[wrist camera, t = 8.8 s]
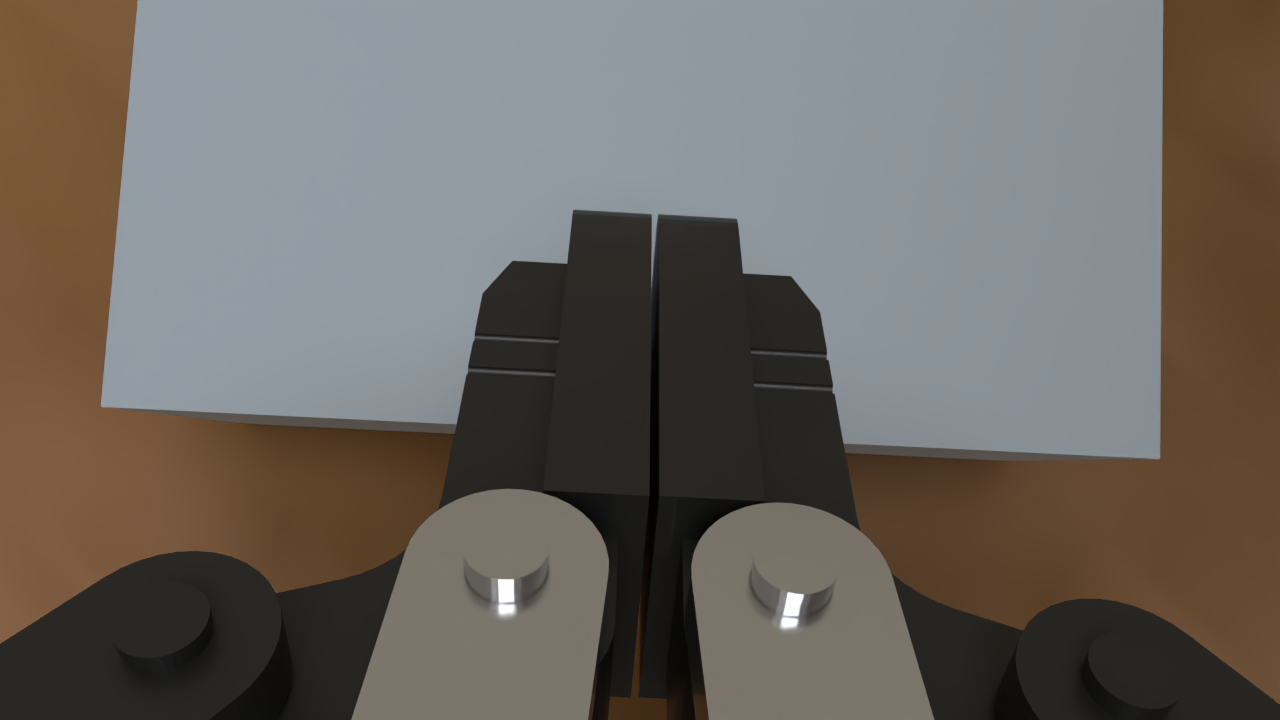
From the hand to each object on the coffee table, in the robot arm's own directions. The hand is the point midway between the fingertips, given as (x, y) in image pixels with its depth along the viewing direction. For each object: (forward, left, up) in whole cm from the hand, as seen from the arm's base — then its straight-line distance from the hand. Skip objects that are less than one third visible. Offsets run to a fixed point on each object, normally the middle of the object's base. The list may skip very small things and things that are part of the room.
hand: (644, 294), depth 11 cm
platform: (-4, -4, -10) cm, 12 cm away
